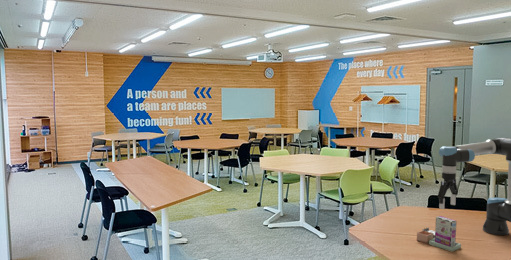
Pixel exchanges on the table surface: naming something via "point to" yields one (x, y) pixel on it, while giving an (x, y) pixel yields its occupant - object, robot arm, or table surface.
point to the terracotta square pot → (424, 236)
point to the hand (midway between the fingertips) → (447, 206)
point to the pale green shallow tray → (457, 245)
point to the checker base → (427, 230)
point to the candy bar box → (445, 231)
